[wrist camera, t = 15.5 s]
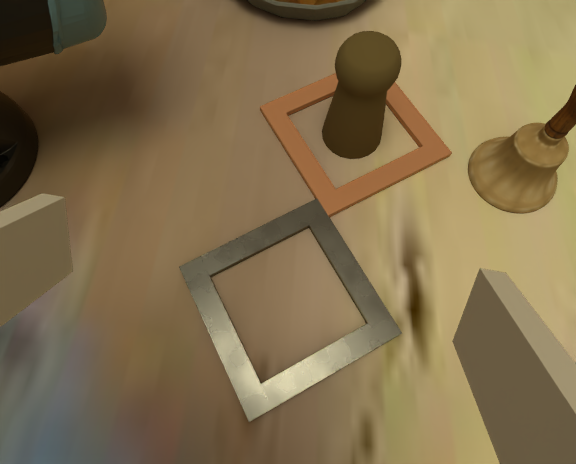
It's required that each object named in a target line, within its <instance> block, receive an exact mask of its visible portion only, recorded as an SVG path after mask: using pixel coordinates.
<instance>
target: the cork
mask: <svg viewBox="0 0 576 464" xmlns="http://www.w3.org/2000/svg"><path fill="white" fill-rule="evenodd" d="M400 68H401V55H400V51H399V49H398V47H397V45H396V44H395V42H394V41H393V40H392V39H391V38H389V37H388V36H386V35H384V34H382V33H379V32H374V31H363V32H359V33H356V34H354V35H352V36H351V37H349V38H348V39H347V40H346V41H345V42H344V43H343V44H342V45H341V47H340V48H339V51H338V53H337V57H336V60H335V70H336V76H337V79H338V84H337V87H336V90H335V93H334V96H333V99H332V102H331V105H330V108H329V111H328V114H327V117H326V119H325V122H324V126H323V129H322V135H323V140H324V142H325V144H326V146H327V147H328V148H329V149H330V150H331V151H332V152H333V153H335V154H337V155H339V156H340V157H344V158H349V159H356V158H362V157H365V156H368V155H369V154H371V153H372V152H373V151H375V150H376V148H377V147H378V145H379V144H380V140H381V135H382V127H383V120H384V112H385V105H386V97H387V90H389V89H390V88H391V86H392V85H393V84H394V82H395V81H396V79H397V78H398V75H399V72H400Z"/></svg>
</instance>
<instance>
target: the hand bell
mask: <svg viewBox="0 0 576 464" xmlns="http://www.w3.org/2000/svg"><path fill="white" fill-rule="evenodd" d="M575 124H576V85H575V87H574V89H573V91H572V93H571V96H570V98H569V100H568V102H567V103H566V104H565V106H564V107H563V108H562V109H561V110H560V111H559V112H558V113H556V114H555V115H554V116H553V117H552V119H551V120H549V121H548V122H547V123H546V124H544V123H531V124H527V125H525V126H523V127H521V128H520V129H519V130H518V131H517V132H515V133H514V134H513V135H512V136H510V137H498V138H494V139H491V140H488V141H486V142H484V143H482V144H481V145H479V146H478V147H477V148H476V149H475V150H474V152H473V153H472V155H471V157H470V160H469V164H468V173H469V177H470V181H471V183H472V185H473V187H474V189H475V190H476V191H477V193H478V194H479V195H480V196H481V197H482V198H483V199H484V200H485V201H487V202H488V203H490V204H491V205H493V206H495V207H497V208H499V209H501V210H504V211H508V212H514V213H527V212H532V211H536V210H538V209H540V208H542V207H543V206H545V205H546V204H547V203H548V202H549V201H550V200H551V199H552V198H553V196H554V193H555V191H556V187H557V173H556V170H557V169H558V167H559V166H560V165H561V164H562V163H563V162H564V160H565V159H566V157H567V155H568V151H569V146H568V142H567V140H566V138H565V136H566V135H567V133H568V132H569V131H570V130H571V129H572V128H573V127H574V126H575Z"/></svg>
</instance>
